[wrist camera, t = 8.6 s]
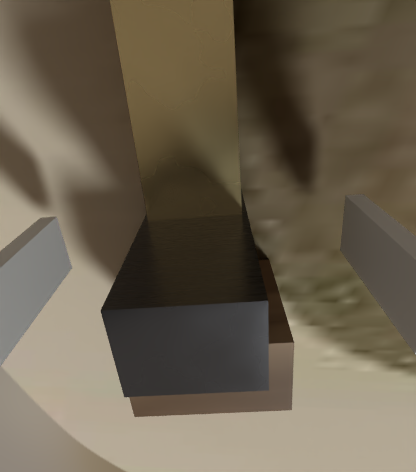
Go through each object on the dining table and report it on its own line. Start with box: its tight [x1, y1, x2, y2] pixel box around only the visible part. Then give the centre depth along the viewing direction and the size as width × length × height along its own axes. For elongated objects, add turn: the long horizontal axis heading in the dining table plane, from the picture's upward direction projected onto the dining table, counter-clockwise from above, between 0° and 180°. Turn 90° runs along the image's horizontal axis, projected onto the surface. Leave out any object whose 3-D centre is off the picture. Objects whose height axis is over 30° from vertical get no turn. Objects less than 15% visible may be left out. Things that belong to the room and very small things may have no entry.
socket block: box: [129, 260, 294, 417], centre depth 17 cm, size 4×7×6 cm, turn 95°
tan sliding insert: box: [101, 0, 269, 397], centre depth 11 cm, size 18×4×9 cm, turn 5°
